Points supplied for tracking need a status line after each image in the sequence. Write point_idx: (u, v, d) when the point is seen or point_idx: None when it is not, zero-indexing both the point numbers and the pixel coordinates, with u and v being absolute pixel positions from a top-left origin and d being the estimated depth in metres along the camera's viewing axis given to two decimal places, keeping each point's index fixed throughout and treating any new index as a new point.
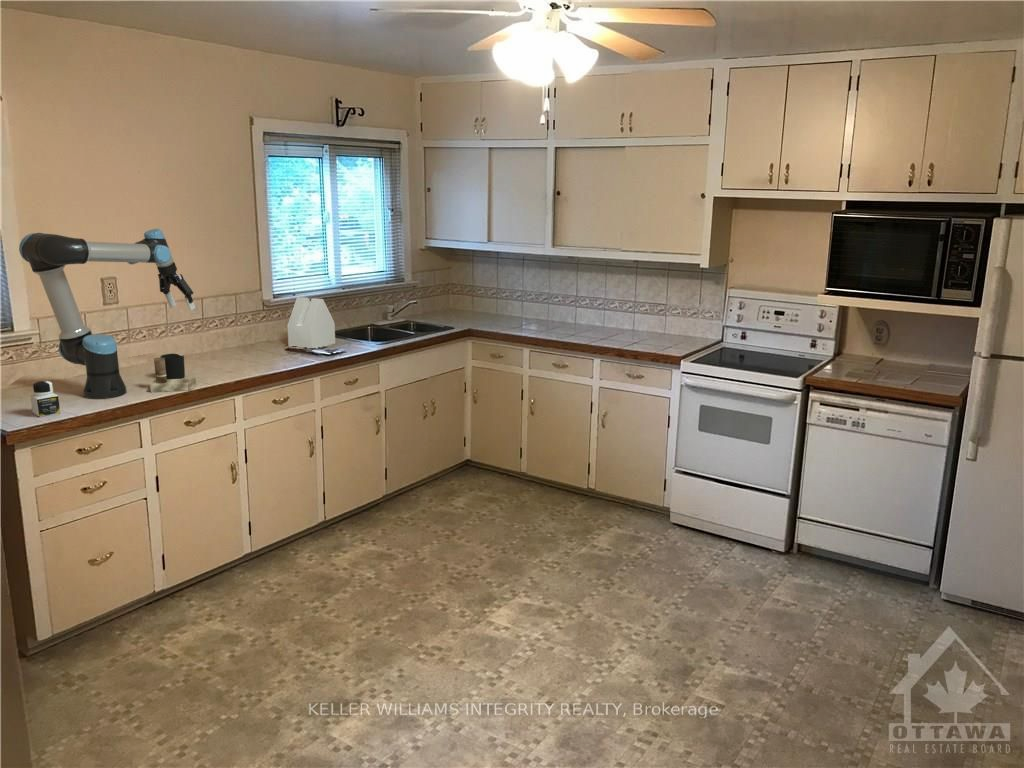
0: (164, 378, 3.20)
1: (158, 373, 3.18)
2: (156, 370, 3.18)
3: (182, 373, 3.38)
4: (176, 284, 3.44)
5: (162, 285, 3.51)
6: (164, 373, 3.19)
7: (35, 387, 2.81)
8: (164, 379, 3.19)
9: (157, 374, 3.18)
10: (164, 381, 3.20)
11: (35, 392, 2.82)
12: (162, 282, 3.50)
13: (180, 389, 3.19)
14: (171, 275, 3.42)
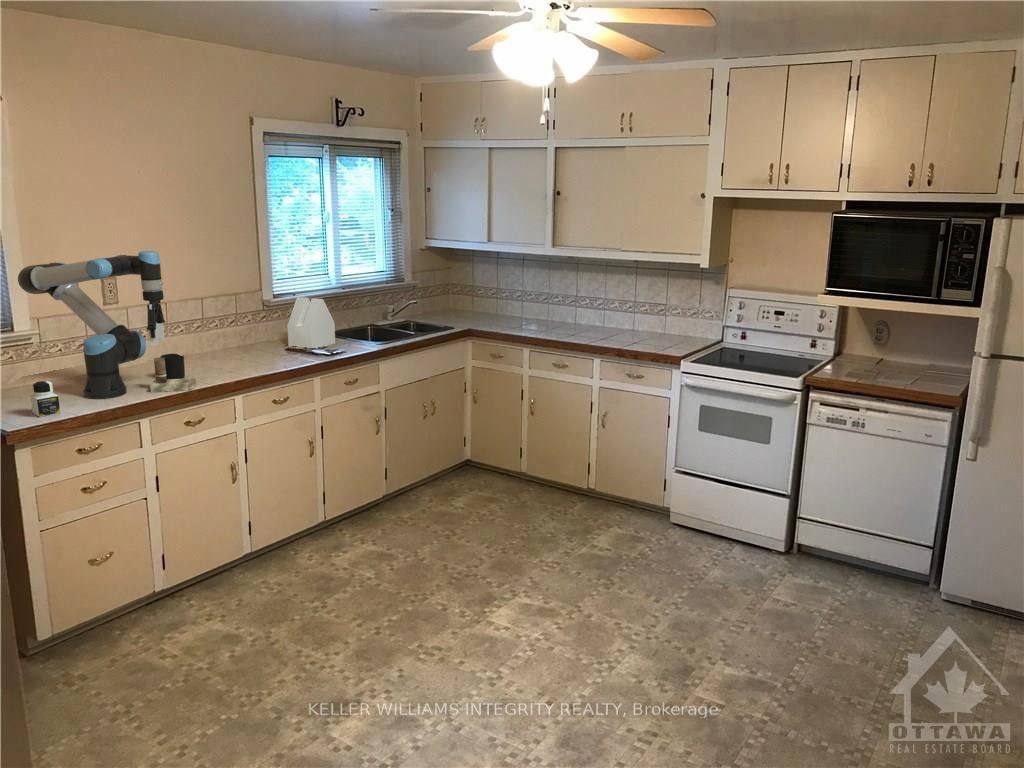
0: (164, 378, 3.20)
1: (158, 373, 3.18)
2: (156, 370, 3.18)
3: (182, 373, 3.38)
4: None
5: None
6: (164, 373, 3.19)
7: (35, 387, 2.81)
8: (164, 379, 3.19)
9: (157, 374, 3.18)
10: (164, 381, 3.20)
11: (35, 392, 2.82)
12: None
13: (180, 389, 3.19)
14: None
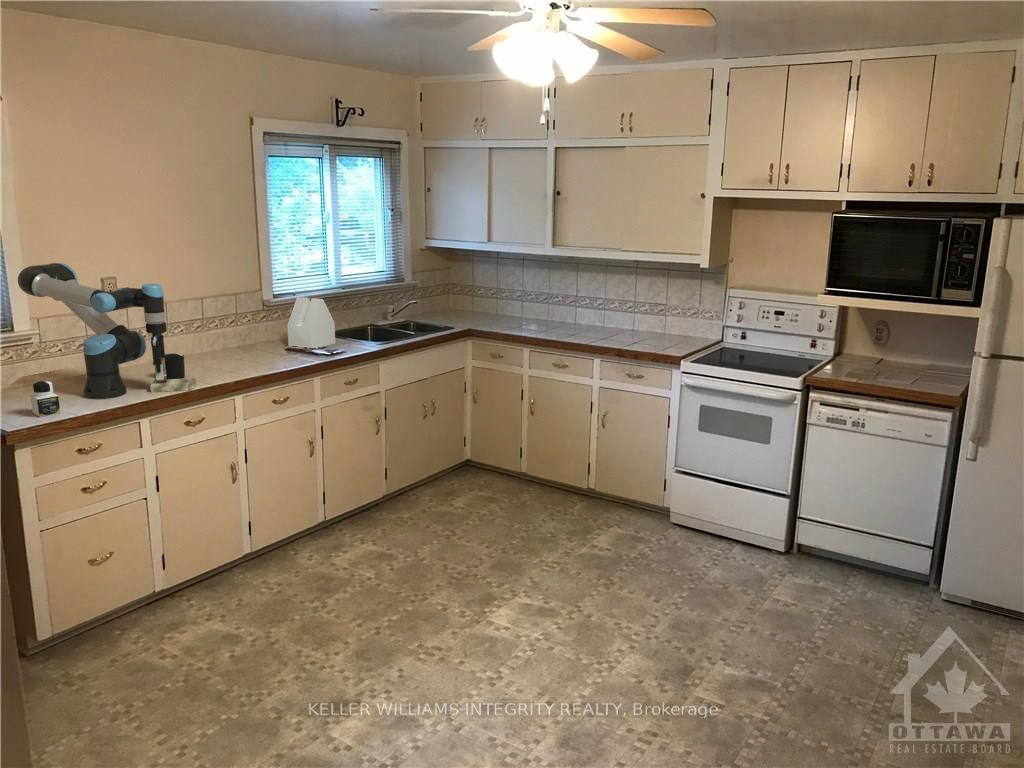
0: (164, 378, 3.20)
1: None
2: None
3: (182, 373, 3.38)
4: None
5: None
6: (164, 373, 3.19)
7: (35, 387, 2.81)
8: (164, 379, 3.19)
9: None
10: (164, 381, 3.20)
11: (35, 392, 2.82)
12: None
13: (180, 389, 3.19)
14: (152, 335, 3.12)
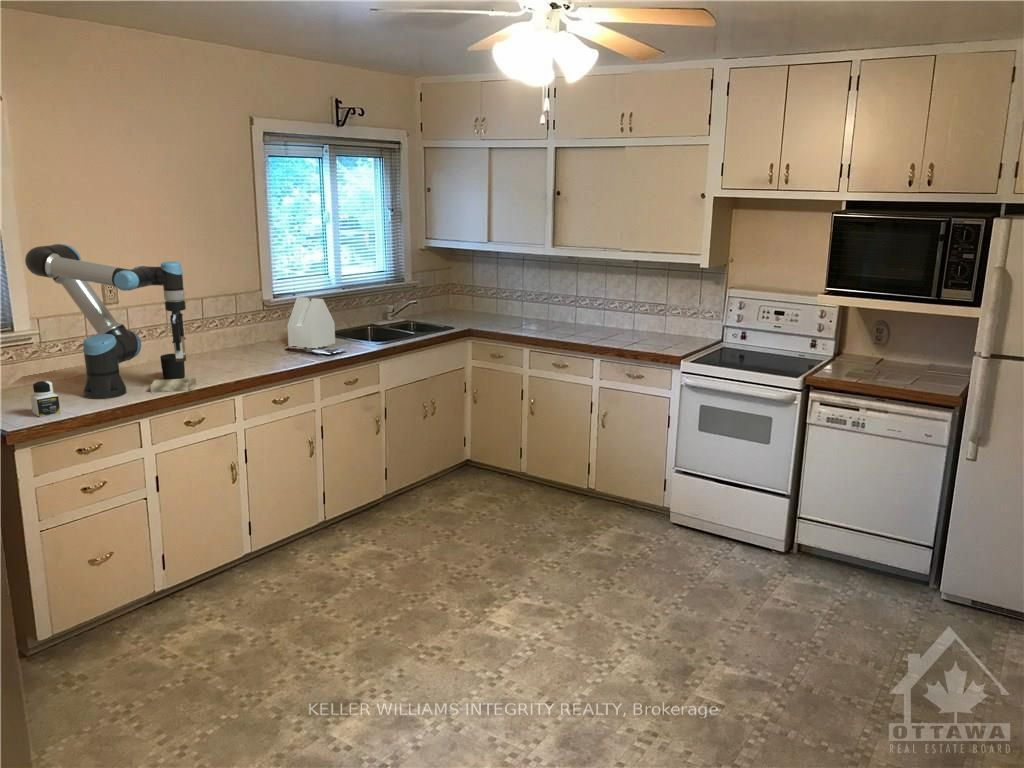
0: (183, 356, 3.19)
1: None
2: None
3: (182, 373, 3.38)
4: None
5: None
6: (183, 351, 3.19)
7: (35, 387, 2.81)
8: (183, 357, 3.19)
9: None
10: (183, 359, 3.19)
11: (35, 392, 2.82)
12: None
13: (180, 389, 3.19)
14: None
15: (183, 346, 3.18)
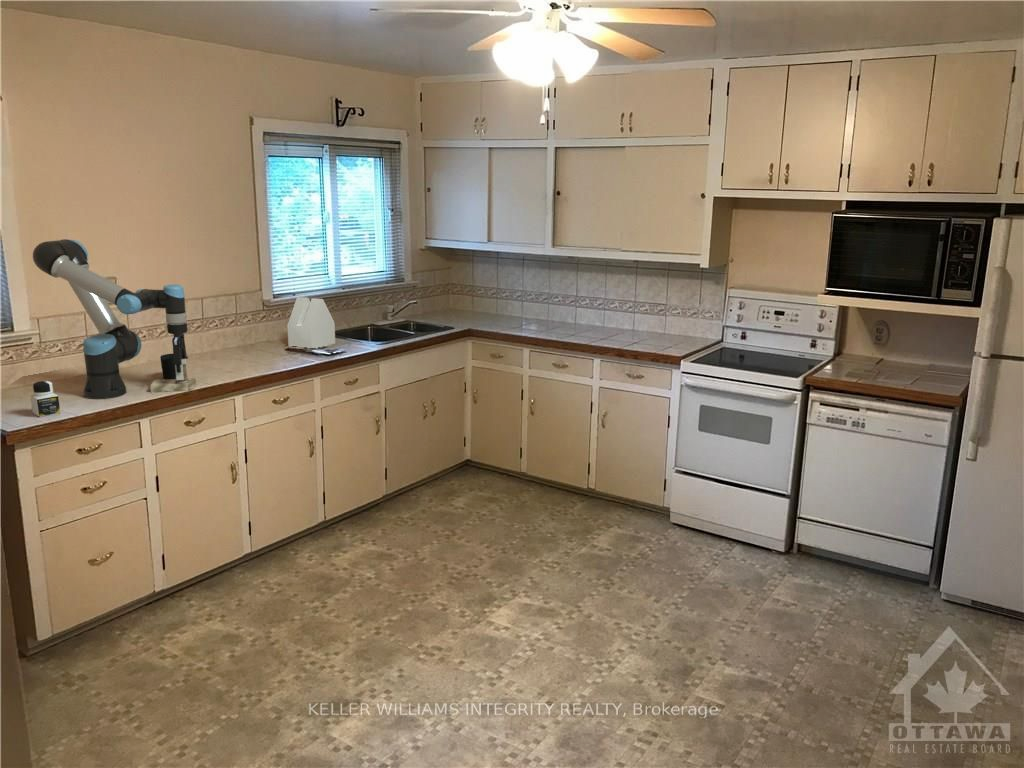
0: None
1: None
2: None
3: None
4: None
5: None
6: (186, 379, 3.22)
7: (35, 387, 2.81)
8: None
9: (179, 380, 3.21)
10: None
11: (35, 392, 2.82)
12: None
13: (180, 389, 3.19)
14: None
15: (185, 374, 3.21)
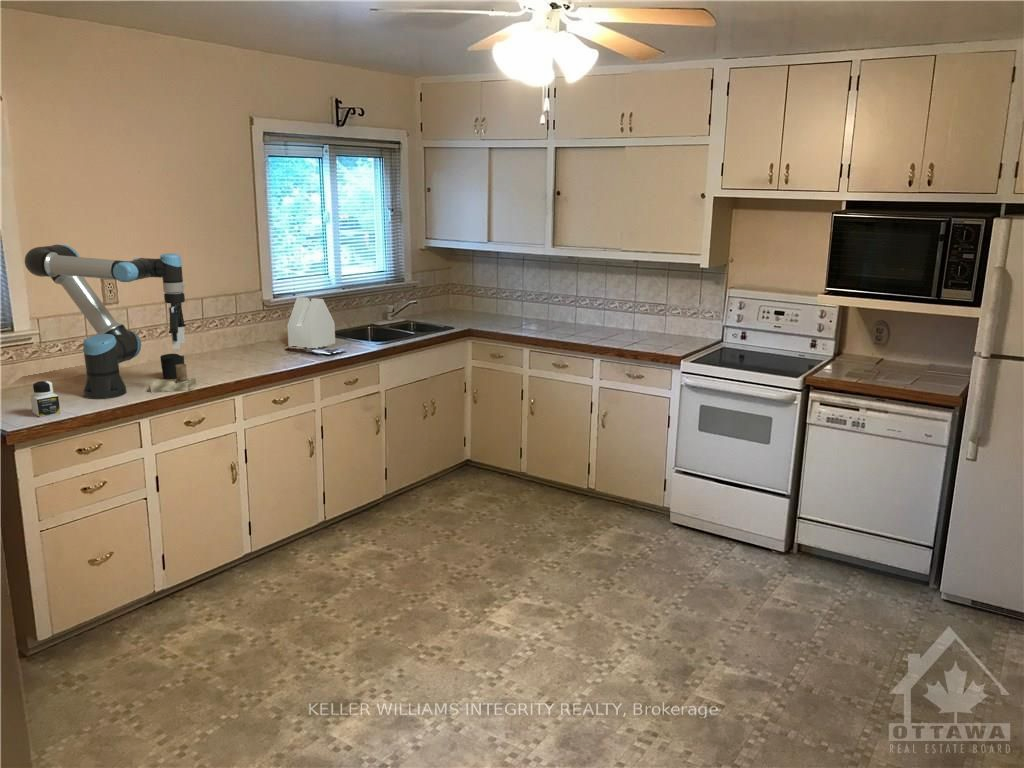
0: None
1: (179, 379, 3.20)
2: (178, 376, 3.20)
3: None
4: None
5: None
6: (185, 379, 3.22)
7: (35, 387, 2.81)
8: None
9: (179, 380, 3.21)
10: None
11: (35, 392, 2.82)
12: None
13: (180, 389, 3.19)
14: (171, 305, 3.12)
15: (185, 374, 3.21)
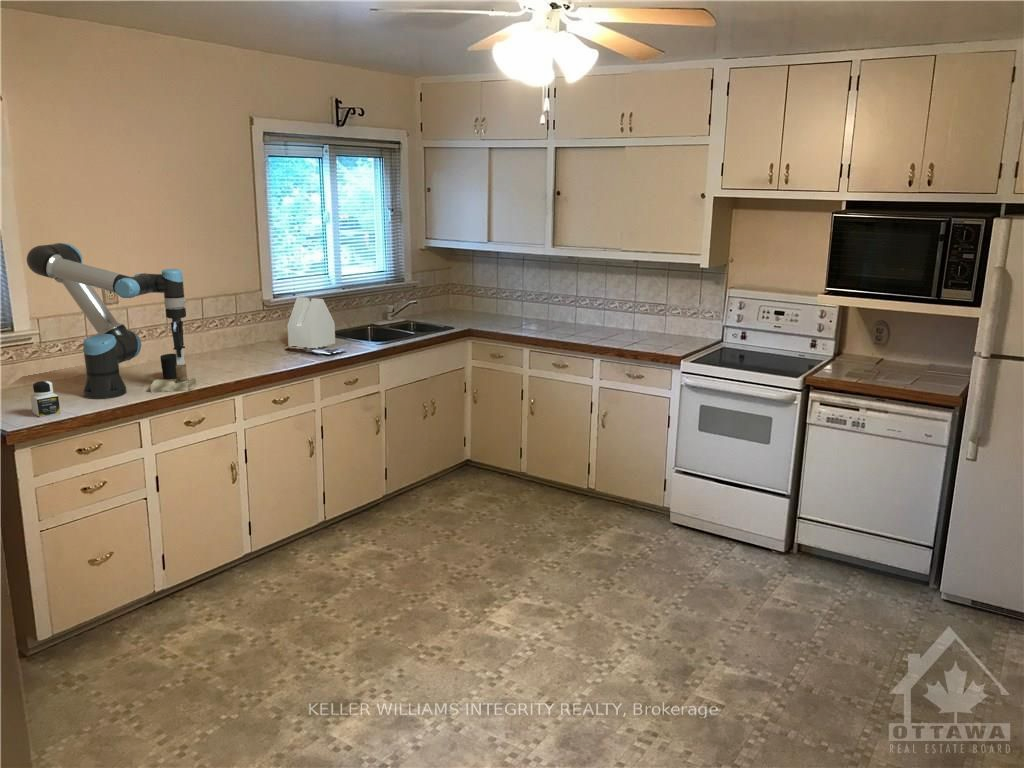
0: None
1: (179, 379, 3.20)
2: (178, 376, 3.20)
3: None
4: None
5: None
6: (185, 379, 3.22)
7: (35, 387, 2.81)
8: None
9: (179, 380, 3.21)
10: None
11: (35, 392, 2.82)
12: None
13: (180, 389, 3.19)
14: (172, 320, 3.13)
15: (185, 374, 3.21)
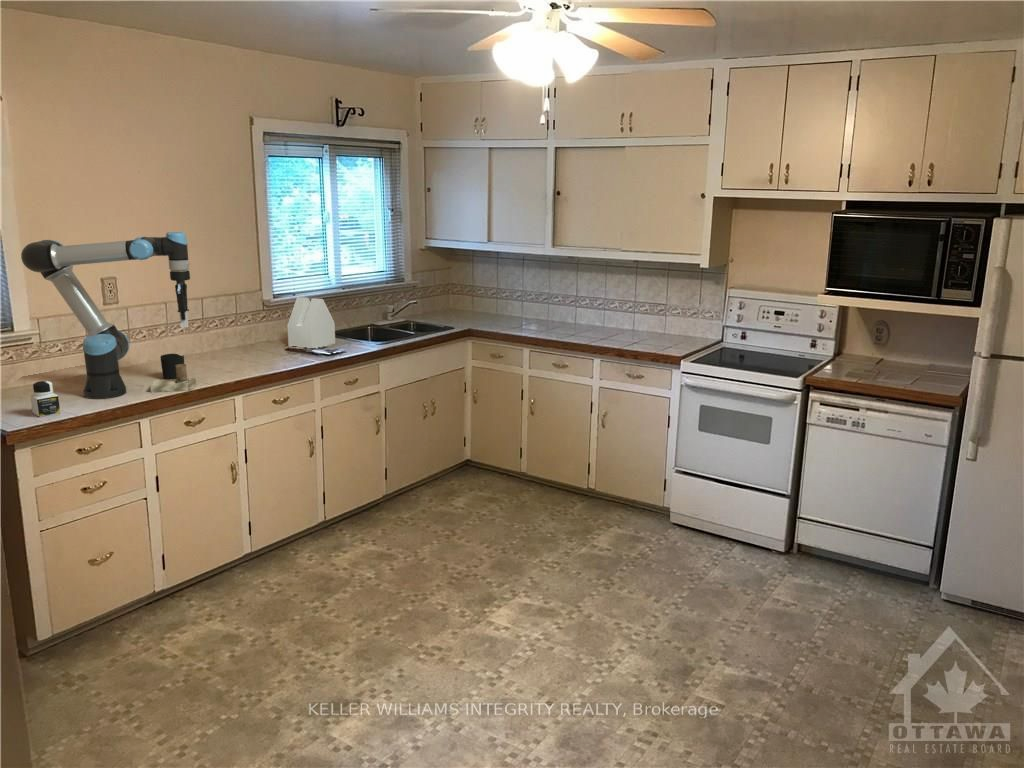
0: None
1: (179, 379, 3.20)
2: (178, 376, 3.20)
3: None
4: None
5: None
6: (185, 379, 3.22)
7: (35, 387, 2.81)
8: None
9: (179, 380, 3.21)
10: None
11: (35, 392, 2.82)
12: None
13: (180, 389, 3.19)
14: (176, 283, 3.17)
15: (185, 374, 3.21)
